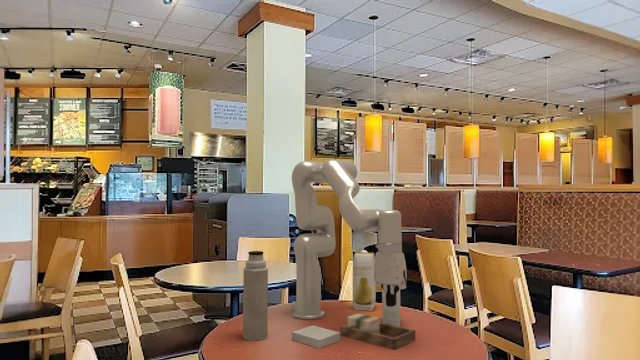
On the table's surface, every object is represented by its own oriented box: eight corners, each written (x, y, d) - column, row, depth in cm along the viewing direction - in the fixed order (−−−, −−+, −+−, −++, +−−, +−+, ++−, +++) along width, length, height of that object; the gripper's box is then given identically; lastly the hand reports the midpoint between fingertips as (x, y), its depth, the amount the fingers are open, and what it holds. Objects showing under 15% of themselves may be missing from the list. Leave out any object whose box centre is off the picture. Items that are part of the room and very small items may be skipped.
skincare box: (400, 327, 156) (400, 283, 157) (381, 326, 157) (381, 282, 158) (400, 321, 164) (400, 278, 165) (382, 320, 166) (382, 278, 166)
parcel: (347, 333, 150) (347, 316, 150) (358, 329, 154) (358, 313, 154) (369, 339, 144) (369, 321, 144) (379, 334, 148) (379, 317, 148)
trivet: (291, 339, 143) (291, 331, 143) (312, 332, 150) (312, 325, 150) (319, 348, 135) (319, 340, 135) (340, 340, 142) (340, 332, 142)
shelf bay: (340, 335, 148) (340, 325, 148) (362, 326, 157) (362, 318, 157) (394, 349, 134) (394, 339, 134) (415, 339, 143) (415, 330, 143)
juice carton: (352, 310, 179) (352, 251, 180) (353, 305, 187) (353, 248, 188) (375, 311, 178) (375, 251, 179) (376, 306, 186) (375, 249, 186)
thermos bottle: (250, 332, 150) (250, 249, 151) (271, 334, 148) (272, 250, 149) (238, 339, 143) (239, 252, 144) (260, 342, 140) (261, 253, 141)
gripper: (364, 248, 145) (365, 304, 144) (404, 250, 135) (405, 311, 134) (377, 246, 151) (378, 300, 150) (416, 248, 141) (417, 307, 140)
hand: (391, 305), depth 142 cm, fingers closed
